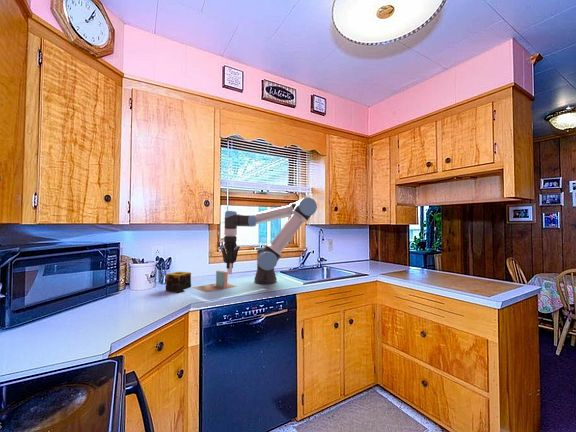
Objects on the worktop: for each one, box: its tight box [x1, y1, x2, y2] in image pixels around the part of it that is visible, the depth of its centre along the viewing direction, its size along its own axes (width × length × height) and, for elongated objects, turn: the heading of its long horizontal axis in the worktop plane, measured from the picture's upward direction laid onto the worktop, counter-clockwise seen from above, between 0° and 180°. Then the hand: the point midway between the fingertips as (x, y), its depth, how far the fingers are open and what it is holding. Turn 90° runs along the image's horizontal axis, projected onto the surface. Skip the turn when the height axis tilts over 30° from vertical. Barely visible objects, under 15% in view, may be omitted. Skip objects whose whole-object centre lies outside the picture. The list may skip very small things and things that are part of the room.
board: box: [191, 282, 237, 294], centre depth 158 cm, size 21×16×1 cm
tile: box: [215, 270, 229, 289], centre depth 159 cm, size 2×9×9 cm, turn 47°
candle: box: [165, 271, 192, 294], centre depth 154 cm, size 10×10×10 cm
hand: (229, 273), depth 163 cm, fingers closed
